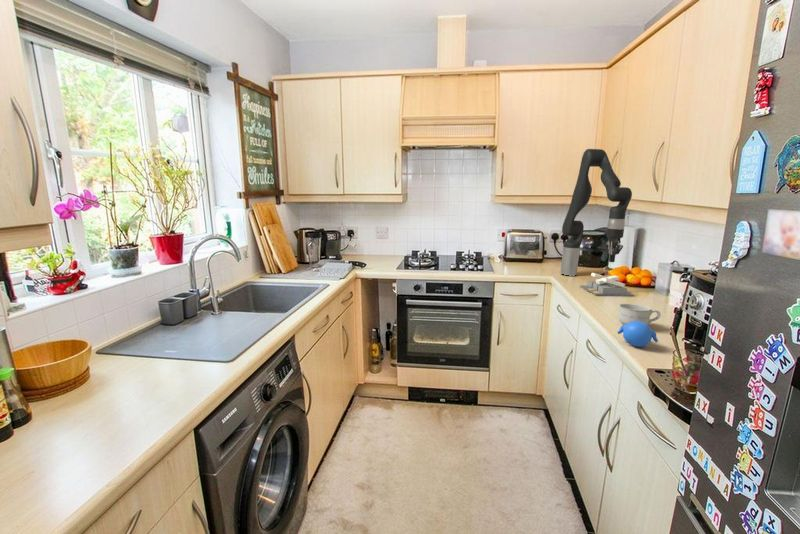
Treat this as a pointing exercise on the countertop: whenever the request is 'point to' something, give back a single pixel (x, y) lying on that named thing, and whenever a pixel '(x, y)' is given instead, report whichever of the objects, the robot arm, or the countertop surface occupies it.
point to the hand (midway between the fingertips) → (611, 261)
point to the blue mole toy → (637, 333)
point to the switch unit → (605, 289)
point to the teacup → (636, 313)
